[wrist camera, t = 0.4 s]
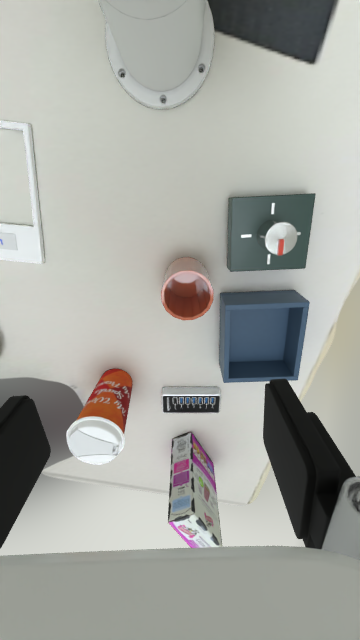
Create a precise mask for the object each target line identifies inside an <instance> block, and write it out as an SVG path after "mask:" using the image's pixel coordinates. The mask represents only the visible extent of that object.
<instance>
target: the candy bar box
mask: <svg viewBox="0 0 360 640" xmlns="http://www.w3.org/2000/svg"><path fill="white" fill-rule="evenodd" d="M168 514H169V515H168V523H169V524H170V525H171V526H172V527H173V528H174V530H175V531H176V532H177V533H178V534H179V535H180V536H181V537H182V538H183V539H184V541H185V542H187V544H188V545H189V546H190V547H191V548H203V547H222V539H221V530H220V520H219V512H218V502H217V493H216V484H215V475H214V466H213V463H212V461H211V460H210V459H209V457H208V456H207V454H206V453H205V451H204V450H203V448H202V447H201V445H200V444H199V442H198V441H197V440H196V438H195V437H194V435H193V434H192V432H190V433H187V434H185V435H182V436H179V437H176V438H174V439H172V454H171V475H170V492H169V511H168Z"/></svg>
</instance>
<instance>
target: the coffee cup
mask: <svg viewBox="0 0 360 640" xmlns="http://www.w3.org/2000/svg"><path fill="white" fill-rule="evenodd" d="M131 391H132V379H131V377H130V375H129V374H128V373H127V372H125V371H123V370H121V369H110V370H108V371H106V372H105V373H104V374H103V375H102V377H101V378H100V380H99V382H98V383H97V385H96V387H95V389H94V390H93V392H92V394H91V396H90V397H89V399H88V401H87V403H86V404H85V406H84V408H83V410H82V411H81V413H80V415H79V417H78V418H77V420H76V421H75V422H74V423H73V424H72V425H71V426H70V428H69V429H68V430H67V443H68V446H69V449H70V451H71V452H72V454H73V455H74V456H75V457H76V458H77V459H79V460H81V461H83V462H85V463H89V464H104V463H108V462H110V461H112V460H113V459H114V458H115V457H116V456H117V455H118V453H119V452H120V451H121V450H122V449H123V447H124V443H125V437H124V431H125V425H126V420H127V414H128V408H129V403H130V397H131Z"/></svg>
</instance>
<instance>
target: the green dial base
mask: <svg viewBox="0 0 360 640" xmlns="http://www.w3.org/2000/svg"><path fill="white" fill-rule="evenodd" d="M314 201H315V194H296V195H276V196H256V197H236V198H229V209H228V253H227V267H228V269H229V270H230V272H234V271H256V270H279V269H302V268H305V266H306V259H307V252H308V244H309V237H310V230H311V222H312V215H313V208H314ZM268 220H278V221H283V222H288V223H290V224H292V225H293V226H294V227H295V229H296V231H297V242H296V244H295V246H294V247H293V249H292V250H291V251H289V252H288V253H286V254H283V255H275V254H272V253H271V252H269V251H267V250H265V249H264V248H262V247H261V246H260V245H259V244H258V242H257V238H256V235H257V231H258V229H259V227H260V226H261V225H262V224H263V223H264V222H266V221H268Z"/></svg>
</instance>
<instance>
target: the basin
mask: <svg viewBox="0 0 360 640" xmlns="http://www.w3.org/2000/svg"><path fill="white" fill-rule="evenodd" d="M309 303H310V302H309V301H308V300H306V299H305V298H304V297H303V296H301V295H300V294H299V293H298V292H296V291H295V290H282V291H258V292H234V293H220V345H219V365H220V369H221V373H222V378H223V382H224V383H229V382H259V381H270V380H272V379H287V381H288V380H298V375H299V369H300V362H301V356H302V349H303V342H304V336H305V329H306V322H307V316H308V309H309Z"/></svg>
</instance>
